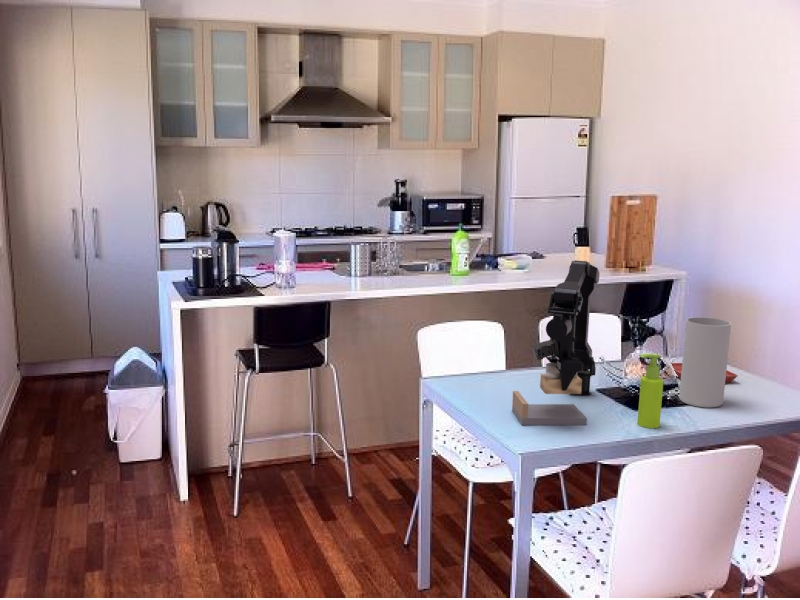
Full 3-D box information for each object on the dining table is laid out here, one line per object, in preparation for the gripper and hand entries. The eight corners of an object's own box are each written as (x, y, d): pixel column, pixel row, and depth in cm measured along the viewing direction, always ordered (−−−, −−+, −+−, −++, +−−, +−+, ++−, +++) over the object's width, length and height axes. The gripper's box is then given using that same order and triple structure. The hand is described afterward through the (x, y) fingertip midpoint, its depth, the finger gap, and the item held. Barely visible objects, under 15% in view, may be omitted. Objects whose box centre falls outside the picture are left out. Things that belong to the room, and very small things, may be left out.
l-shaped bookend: (573, 410, 224) (574, 390, 223) (586, 424, 213) (587, 403, 212) (512, 411, 223) (513, 390, 222) (521, 425, 211) (522, 404, 210)
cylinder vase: (731, 404, 234) (740, 323, 229) (704, 410, 227) (713, 327, 223) (696, 393, 244) (704, 315, 240) (670, 399, 238) (677, 319, 233)
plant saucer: (660, 371, 270) (661, 362, 270) (707, 370, 274) (708, 361, 273) (687, 386, 253) (688, 377, 252) (738, 385, 256) (739, 375, 255)
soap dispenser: (630, 421, 217) (636, 351, 213) (654, 421, 217) (660, 351, 214) (638, 428, 211) (644, 356, 207) (663, 428, 211) (669, 357, 208)
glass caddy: (574, 387, 220) (576, 361, 219) (581, 393, 214) (582, 367, 213) (540, 387, 219) (541, 361, 218) (545, 393, 213) (547, 367, 212)
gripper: (527, 325, 222) (524, 377, 225) (544, 340, 204) (541, 397, 207) (565, 325, 223) (562, 377, 226) (585, 340, 205) (581, 397, 208)
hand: (560, 387), depth 217 cm, fingers closed on glass caddy, 6 cm apart
